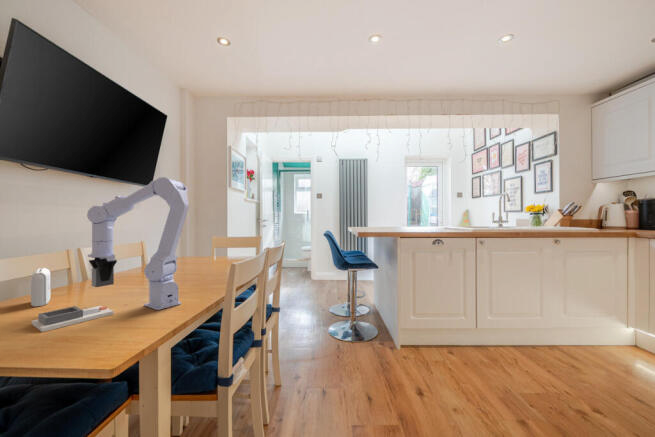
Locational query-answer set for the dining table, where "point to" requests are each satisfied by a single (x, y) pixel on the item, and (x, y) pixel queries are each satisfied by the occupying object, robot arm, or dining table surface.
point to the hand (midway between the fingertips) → (102, 279)
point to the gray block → (97, 280)
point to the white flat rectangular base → (68, 317)
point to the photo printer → (40, 287)
